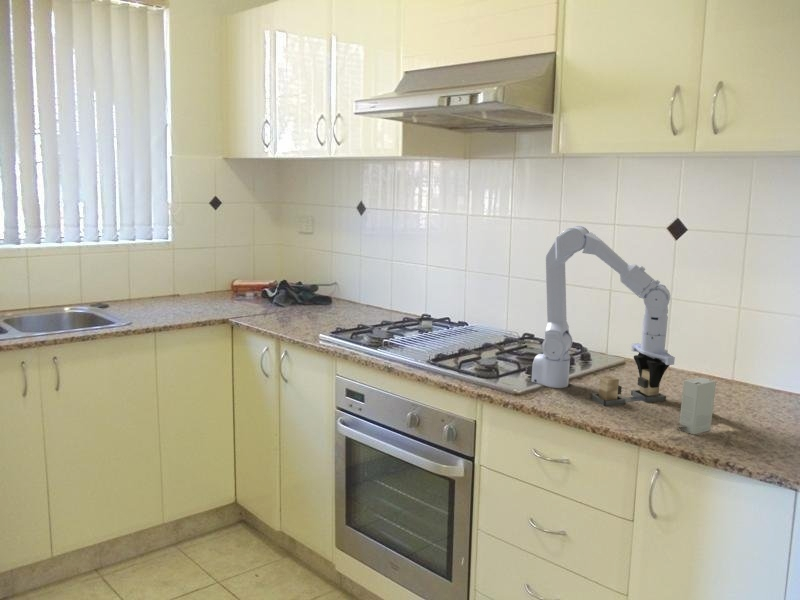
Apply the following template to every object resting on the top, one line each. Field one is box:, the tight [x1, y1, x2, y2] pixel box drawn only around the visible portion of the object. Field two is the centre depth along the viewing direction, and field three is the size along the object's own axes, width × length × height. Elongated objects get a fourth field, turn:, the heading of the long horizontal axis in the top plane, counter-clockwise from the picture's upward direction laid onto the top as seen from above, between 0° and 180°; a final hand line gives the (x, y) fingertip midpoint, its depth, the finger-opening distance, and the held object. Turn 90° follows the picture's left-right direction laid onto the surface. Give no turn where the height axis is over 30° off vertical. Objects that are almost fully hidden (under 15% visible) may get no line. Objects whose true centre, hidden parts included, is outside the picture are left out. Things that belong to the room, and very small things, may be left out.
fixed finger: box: [598, 375, 623, 400], centre depth 178 cm, size 4×3×6 cm
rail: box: [590, 389, 667, 407], centre depth 180 cm, size 18×6×3 cm, turn 108°
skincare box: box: [678, 376, 717, 435], centre depth 162 cm, size 6×4×12 cm
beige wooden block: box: [637, 369, 660, 396], centre depth 181 cm, size 4×3×6 cm
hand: (649, 385), depth 181 cm, fingers closed on beige wooden block, 3 cm apart
